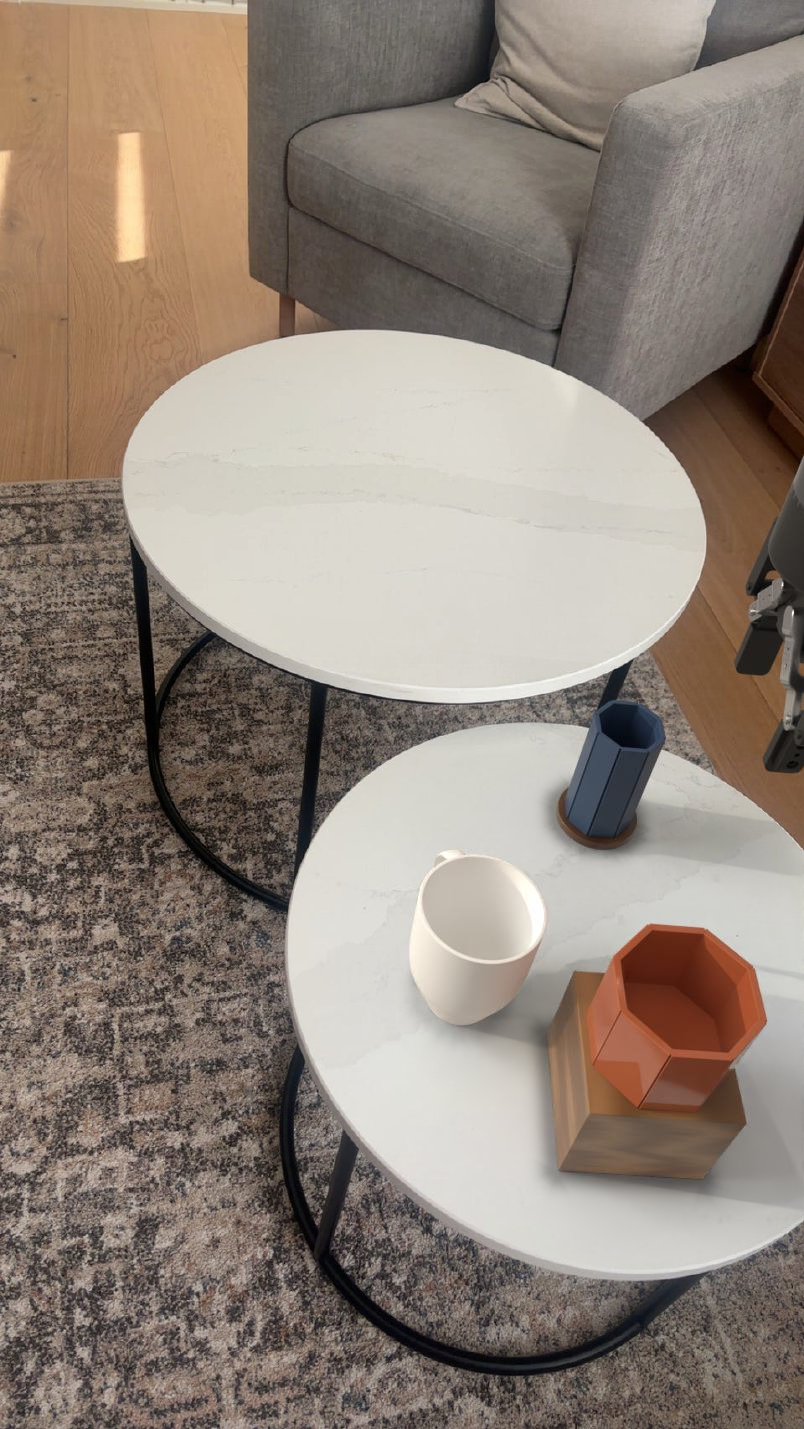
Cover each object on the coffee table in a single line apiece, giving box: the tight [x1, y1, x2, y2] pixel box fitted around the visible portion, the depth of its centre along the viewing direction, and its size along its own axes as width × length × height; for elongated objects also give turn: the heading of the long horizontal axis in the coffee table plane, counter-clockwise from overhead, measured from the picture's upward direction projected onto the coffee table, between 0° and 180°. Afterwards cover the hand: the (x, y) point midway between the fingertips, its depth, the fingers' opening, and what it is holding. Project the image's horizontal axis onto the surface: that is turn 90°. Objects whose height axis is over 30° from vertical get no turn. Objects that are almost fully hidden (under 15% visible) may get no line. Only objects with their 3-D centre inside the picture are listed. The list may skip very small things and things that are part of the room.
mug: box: [408, 849, 548, 1026], centre depth 78 cm, size 12×9×12 cm
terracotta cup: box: [586, 923, 768, 1112], centre depth 68 cm, size 9×9×7 cm
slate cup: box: [565, 699, 667, 838], centre depth 91 cm, size 6×6×11 cm
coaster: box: [555, 786, 638, 851], centre depth 95 cm, size 7×7×1 cm
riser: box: [546, 970, 747, 1180], centre depth 74 cm, size 10×10×9 cm
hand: (763, 717), depth 67 cm, fingers open, 8 cm apart
